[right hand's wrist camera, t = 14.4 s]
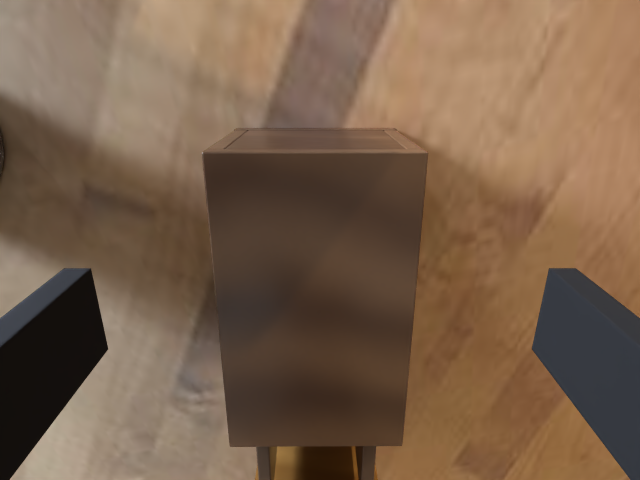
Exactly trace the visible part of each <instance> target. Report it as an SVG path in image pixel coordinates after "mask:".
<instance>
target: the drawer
mask: <svg viewBox="0 0 640 480" xmlns="http://www.w3.org/2000/svg"><path fill="white" fill-rule="evenodd" d="M256 449H257V471H256V477H255V480H378V479H377V472H376V465H375V454H376V446H288V447H256Z"/></svg>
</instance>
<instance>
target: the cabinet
mask: <svg viewBox="0 0 640 480" xmlns="http://www.w3.org/2000/svg"><path fill="white" fill-rule="evenodd" d="M202 159H203V170H204V180H205V191H206V201H207V212H208V222H209V233H210V243H211V254H212V264H213V275H214V285H215V296H216V306H217V317H218V328H219V338H220V349H221V359H222V370H223V380H224V391H225V401H226V412H227V422H228V433H229V443H230V447H288V446H402V442H403V431H404V420H405V408H406V397H407V386H408V375H409V363H410V352H411V341H412V329H413V318H414V307H415V296H416V284H417V273H418V262H419V250H420V239H421V228H422V217H423V205H424V194H425V183H426V171H427V160H428V152H427V151H425V150H424V149H422V148H421V147H419V146H418V145H416V144H415V143H414V142H412V141H411V140H409V139H408V138H406V137H405V136H403V135H402V134H401V133H399V132H398V131H397V130H396V129H395V128H237V129H235V130H234V131H233V132H232V133H230V134H229V135H227V136H226V137H224V138H223V139H221V140H220V141H218V142H217V143H215V144H214V145H212V146H211V147H209V148H208V149H207V150H205V151H203V152H202Z"/></svg>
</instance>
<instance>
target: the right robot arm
mask: <svg viewBox="0 0 640 480" xmlns="http://www.w3.org/2000/svg"><path fill="white" fill-rule="evenodd" d="M107 350H108V346H107V341H106V337H105V332H104V327H103V323H102V318H101V313H100V309H99V304H98V299H97V295H96V290H95V285H94V281H93V276H92V271H91V268H64V269H63V270H62V271H60V272H59V273H58V274H56V275H55V276H54V277H53V278H51V279H50V280H49V281H47V282H46V283H45V284H44V285H42V286H41V287H40V288H38V289H37V290H36V291H35V292H33V293H32V294H31V295H30V296H28V297H27V298H26V299H24V300H23V301H22V302H21V303H19V304H18V305H17V306H15V307H14V308H13V309H12V310H10V311H9V312H8V313H6V314H5V315H4V316H3V317H1V318H0V480H10V478H11V477H12V476H13V474H14V473H15V472H16V470H17V469H18V468H19V466H20V465H21V464H22V462H23V461H24V460H25V458H26V457H27V456H28V454H29V453H30V452H31V451H32V449H33V448H34V447H35V445H36V444H37V443H38V441H39V440H40V439H41V437H42V436H43V435H44V433H45V432H46V431H47V429H48V428H49V427H50V425H51V424H52V423H53V421H54V420H55V419H56V417H57V416H58V415H59V413H60V412H61V411H62V410H63V408H64V407H65V406H66V404H67V403H68V402H69V400H70V399H71V398H72V396H73V395H74V394H75V392H76V391H77V390H78V388H79V387H80V386H81V384H82V383H83V382H84V380H85V379H86V378H87V376H88V375H89V374H90V372H91V371H92V370H93V368H94V367H95V366H96V365H97V363H98V362H99V361H100V359H101V358H102V357H103V355H104V354H105V353H106V351H107ZM532 350H533V351H534V353H535V354H536V355H537V357H538V358H539V359H540V361H541V362H542V363H543V365H544V366H545V367H546V368H547V370H548V371H549V372H550V374H551V375H552V376H553V378H554V379H555V380H556V382H557V383H558V384H559V386H560V387H561V388H562V390H563V391H564V392H565V394H566V395H567V396H568V398H569V399H570V400H571V402H572V403H573V404H574V406H575V407H576V408H577V410H578V411H579V412H580V413H581V415H582V416H583V417H584V419H585V420H586V421H587V423H588V424H589V425H590V427H591V428H592V429H593V431H594V432H595V433H596V435H597V436H598V437H599V439H600V440H601V441H602V443H603V444H604V445H605V447H606V448H607V449H608V451H609V452H610V453H611V454H612V456H613V457H614V458H615V460H616V461H617V462H618V464H619V465H620V466H621V468H622V469H623V470H624V472H625V473H626V474H627V476H628V477H629V478H630V480H640V318H639V317H637V316H636V315H635V314H634V313H632V312H631V311H630V310H628V309H627V308H626V307H625V306H623V305H622V304H621V303H619V302H618V301H617V300H616V299H614V298H613V297H612V296H610V295H609V294H608V293H607V292H605V291H604V290H603V289H602V288H600V287H599V286H598V285H596V284H595V283H594V282H593V281H591V280H590V279H589V278H587V277H586V276H585V275H584V274H582V273H581V272H580V271H578V270H577V269H576V268H549V271H548V276H547V281H546V285H545V290H544V295H543V299H542V304H541V309H540V313H539V318H538V323H537V327H536V332H535V337H534V341H533V346H532Z"/></svg>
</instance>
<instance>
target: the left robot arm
mask: <svg viewBox="0 0 640 480" xmlns="http://www.w3.org/2000/svg"><path fill="white" fill-rule="evenodd" d="M3 162H4V149H3V142H2V137H1V134H0V175H1V172H2V168H3Z"/></svg>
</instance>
